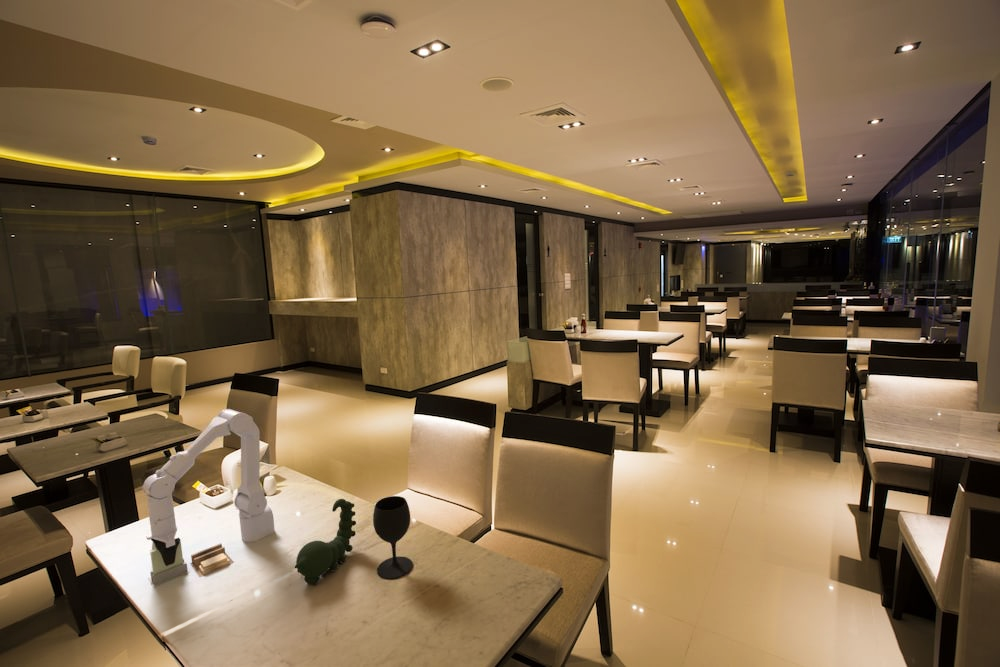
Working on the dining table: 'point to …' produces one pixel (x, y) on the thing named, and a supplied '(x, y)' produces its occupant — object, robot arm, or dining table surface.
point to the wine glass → (392, 534)
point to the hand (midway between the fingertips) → (167, 560)
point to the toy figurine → (327, 547)
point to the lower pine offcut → (214, 567)
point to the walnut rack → (207, 557)
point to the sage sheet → (159, 563)
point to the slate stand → (168, 574)
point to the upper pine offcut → (213, 561)
